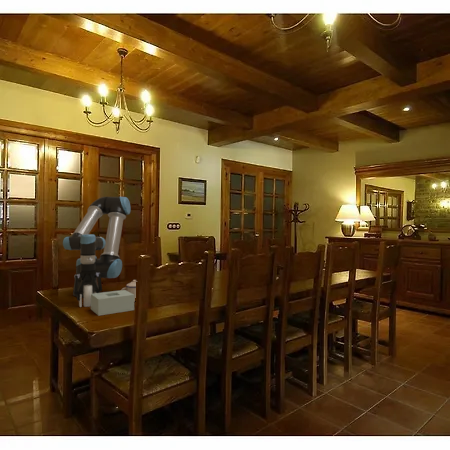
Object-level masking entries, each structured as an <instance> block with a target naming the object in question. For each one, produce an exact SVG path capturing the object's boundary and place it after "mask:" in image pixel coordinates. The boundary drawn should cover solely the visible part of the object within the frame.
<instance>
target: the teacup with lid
mask: <svg viewBox="0 0 450 450" xmlns="http://www.w3.org/2000/svg"><path fill="white" fill-rule="evenodd" d="M136 282H137V279H133V280H132V281H131V282H129V283H126V285H125V287H123V288H121V290H126V291H128V292H130V293H132V294H134V303H136V302H135V298H136Z"/></svg>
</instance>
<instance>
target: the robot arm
mask: <svg viewBox="0 0 450 450" xmlns="http://www.w3.org/2000/svg"><path fill="white" fill-rule="evenodd" d="M130 214H131V201H130V200H129V198H128V197H126V196H102V197H99V198H97V199H95V200H94V201H93V202H92V203H91V204H90V205H89V207H88V208H87V212H86V214H85V215H84V216H83V218H82V220H81V221H80V223H79V224H78V225H77V227H76V228H75V230H74V232H73V233H72V234H71V236H66V237H64V238H63V241H62V246H63V248H64V250H69V251H80V258H77V260H76V264H75V274H74V275H73V276H74V283H73V291H72V293H73V294H72V296H73V297H76V300H77V301H78V306H79V307H80V308H82V307H83V306H82V305H83V304H82V303H83V302H82V301H83V300H82V298H84V285H92V294H94V293H101V292H102V291H103V285H102V279H115V278H118V277H119V275H120V274H121V272H122V268H123V261H122V259H120V258H121V257H120V255H119V249H120V242H121V237H122V230H123V223H124V220H126V218H127V216H128V215H130ZM103 215H107V216H108V218H109V220H108V225H107V231H106V236H105V237H106V238H104V237H102V236H96V235H95V234H94V233H93V234H92V233H91V234H90V232H91V231H92V230H93V228H94V226H95V225H96V223H97V222H98V220H99V218H101V217H102V216H103ZM100 250H103V253H101V254H100V256H99V258H97V256H96V251H100Z"/></svg>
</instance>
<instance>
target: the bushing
mask: <svg viewBox="0 0 450 450" xmlns="http://www.w3.org/2000/svg"><path fill="white" fill-rule="evenodd" d="M91 294H92V285H84V297H83V307H85V308H88V307H89V308H91Z"/></svg>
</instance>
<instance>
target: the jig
mask: <svg viewBox="0 0 450 450" xmlns="http://www.w3.org/2000/svg"><path fill="white" fill-rule="evenodd" d="M90 310H91V311H92V312H93V313H95V314H96V315H97V316H98V317H99V316H104V315H105V316H106V315H110V314H111V315H112V314H116V313H117V314H118V313H124V312H130V311H131V312H132V311H135V302H134V294H132V293H130V292H128V291H127V289H123V290H122V289H121V290H113V291H103V292H100V293H94V294H91V306H90Z"/></svg>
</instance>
